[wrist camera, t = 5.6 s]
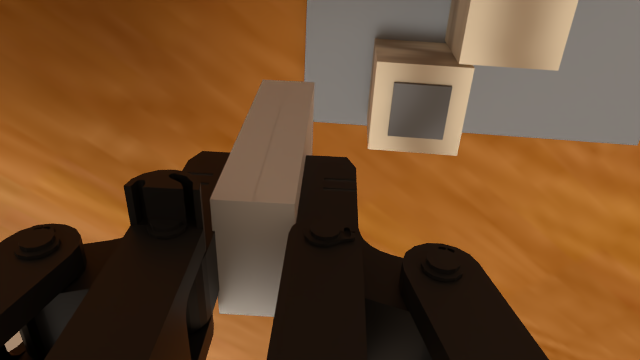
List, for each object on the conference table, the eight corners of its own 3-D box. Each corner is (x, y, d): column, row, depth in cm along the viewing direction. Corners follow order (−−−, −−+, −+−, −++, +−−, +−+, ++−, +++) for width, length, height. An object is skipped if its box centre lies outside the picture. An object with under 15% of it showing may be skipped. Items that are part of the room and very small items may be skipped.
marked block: (366, 119, 39) (367, 154, 34) (374, 38, 36) (377, 62, 31) (443, 125, 39) (456, 161, 34) (458, 44, 36) (475, 69, 30)
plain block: (444, 40, 36) (459, 63, 31) (460, -52, 33) (479, -43, 28) (529, 45, 36) (558, 70, 30) (552, -46, 33) (588, -36, 28)
